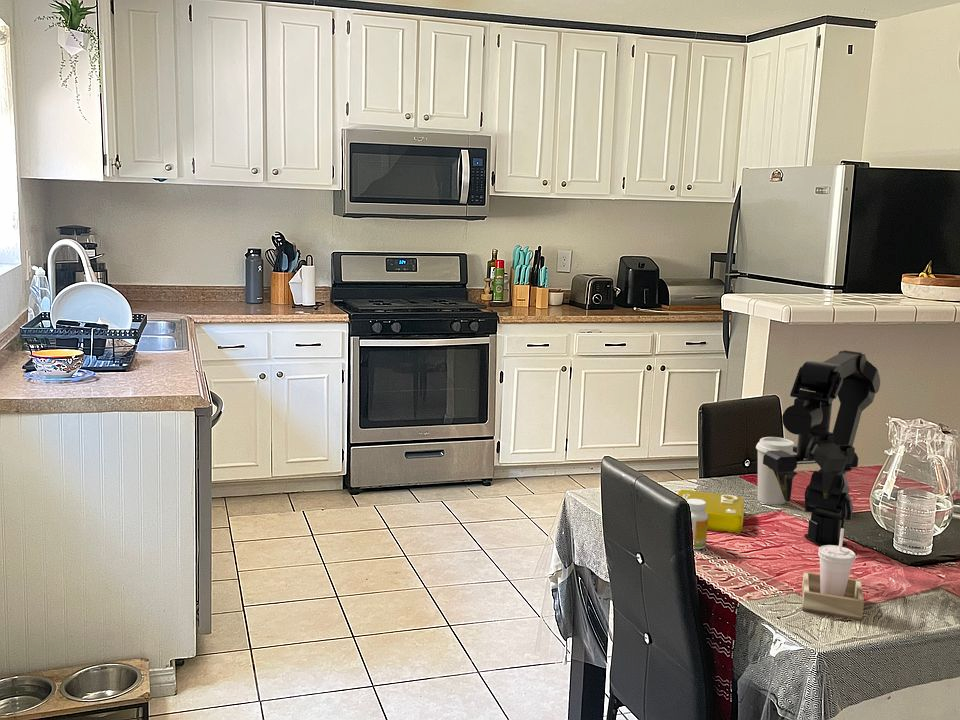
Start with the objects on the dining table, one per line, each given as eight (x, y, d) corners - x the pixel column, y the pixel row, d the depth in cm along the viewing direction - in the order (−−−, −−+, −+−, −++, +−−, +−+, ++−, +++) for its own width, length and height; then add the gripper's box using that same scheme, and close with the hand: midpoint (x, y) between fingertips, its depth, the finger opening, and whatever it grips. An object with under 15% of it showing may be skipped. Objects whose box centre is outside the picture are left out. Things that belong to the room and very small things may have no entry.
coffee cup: (796, 499, 228) (802, 440, 225) (786, 509, 220) (792, 449, 217) (757, 491, 233) (762, 433, 230) (746, 501, 225) (751, 442, 222)
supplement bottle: (707, 542, 197) (710, 499, 196) (704, 551, 192) (708, 507, 191) (681, 538, 199) (684, 495, 197) (678, 547, 194) (681, 503, 192)
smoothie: (856, 608, 167) (865, 535, 165) (824, 609, 166) (832, 536, 164) (838, 592, 174) (846, 522, 171) (806, 593, 172) (814, 522, 170)
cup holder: (801, 588, 176) (803, 571, 175) (858, 597, 173) (860, 579, 172) (802, 610, 167) (804, 592, 166) (861, 620, 164) (864, 601, 163)
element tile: (677, 505, 222) (679, 486, 221) (742, 513, 218) (744, 494, 217) (672, 526, 207) (674, 506, 207) (741, 535, 203) (743, 515, 203)
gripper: (798, 438, 174) (790, 516, 177) (881, 433, 180) (872, 510, 182) (764, 423, 185) (757, 497, 188) (843, 419, 190) (835, 492, 193)
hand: (806, 499), depth 187 cm, fingers open, 9 cm apart
